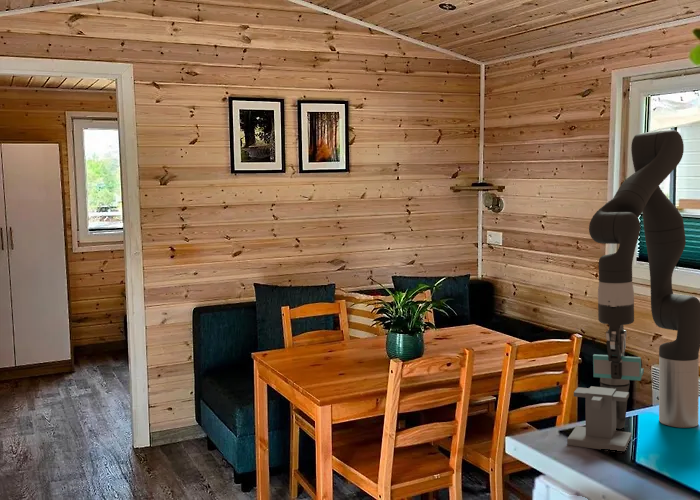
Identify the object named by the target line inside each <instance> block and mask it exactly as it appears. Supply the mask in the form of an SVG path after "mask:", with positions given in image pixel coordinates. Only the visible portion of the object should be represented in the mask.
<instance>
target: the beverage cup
mask: <svg viewBox="0 0 700 500" xmlns="http://www.w3.org/2000/svg"><path fill="white" fill-rule="evenodd" d="M599 383H600V386H599V387H603V388H613V389H616V391H620V392H629V389H630V385H631V383H630V380H625V379H612V378H599ZM627 405H628V400H627V401H626V402H623V401H616V428H623V427H624V428H625V424H626V418H627V417H626V416H627V408H628V406H627Z"/></svg>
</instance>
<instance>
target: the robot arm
mask: <svg viewBox="0 0 700 500" xmlns="http://www.w3.org/2000/svg"><path fill="white" fill-rule="evenodd" d="M630 149H631V159H632V165H633V170H634V173H633V174H631V175H630V176H629V177H627V178H625V180H624V181H623V182H622V183H621V184H620V186H619V187H618V189H617V191H616V192H615V194H614V196H613V197H612V199H610V200H609V201H607V202H606V203H605V204H604V205H603V206H601V207H600V208H599V209H598V210H597V211H596V212H595V213H594V215H593V216H592V217H591V219H590V222H589V225H588V233H589V236H590V238H591V239H592V241H594V242H596V243H598V244H602V245H603V244H606V245H607V244H608V245H610V244H611V245H612V244H613V245H614V244H617V245H618V249H617V250H616V252H614V253H609V254H605V255H602V256H600V258H598V287H597V309H598V311H597V317H598V322H599V323H600V324H603V325H608V329H607V331H605V339H606V342H605V345H606V349H607V350H606V352H607V355H608V360H609V361H610V362H611V378H612V379H621V378H622V361H623V360H622V356H625V355H626V352H625V351H626V348H627V345H626V343H627V341H626V339H627V335H628V334H627V330H626V329H624V326H626V325H627V326H628V325H631V324H633V323H634V322H635V294H634V285H633V284H634V283H633V262H634V255H635V251H636V247H637V244H638V241H639V237H640V233H641V222H640V219H639V217H640V216H641V215H642V221H643V231H644V238H645V245H646V251H647V258H648V268H649V279H650V281H649V283H650V284H649V285H650V311H651V316H652V319H653V322H654V324H655V325H656V326H657V327H658V328H660V329H664V330H665V329H666V330H670V331H676V338H675V339H674V340H673V341H670V342H669V341H668V342H664V343H663V342H662V343H661V344H660V345H659V348H658V359H659V360H658V368H659V369H658V371H659V373H658V377H659V378H658V379H659V380H658V394H659V395H658V400H659V401H658V420H659V422H660V423H661V424H662V425H665V426H669V427H675V428H687V429H688V428H695V427H697V426H699V388H700V387H699V386H700V385H699V384H700V383H699V379H700V378H699V356H700V355H699V353H700V299H698V298H697V297H696V296H692V295H686V294H676V293H674V291H673V284H672V283H673V282H672V281H673V273H674V270H675V268H676V267H677V264H678V263H679V261H680V259H681V256H682V254H683V252H684V250H685V247H686V231H685V223H684V218H683V216H682V214H681V212H680V211H679V210H678V208H677V207H676V206H675V204H674V203H673V202H672V201H671V200H670V199H669V197H667V195H666V194H665V193H664V192H663V190H662V189H661V186H660V185H661V184H662V183H663V182H664V180H666V179H667V178H668V177H669V175H670V174H671V173H672V172H673V171H674V170H675V168H677V166H678V165H679V164H680V162H681V161H682V159H683V155H684V149H685V146H684V140H683V137H682V135H681V133H680V132H679V131H677V130H675V129H663V130H662V129H661V130H653V131H648V132H641V133H637V134H635V135H634V136H633V138H632V140H631V148H630Z"/></svg>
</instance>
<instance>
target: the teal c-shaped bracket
mask: <svg viewBox="0 0 700 500" xmlns="http://www.w3.org/2000/svg"><path fill="white" fill-rule="evenodd" d="M622 360H623V361H622V378H621V379H625V380H629V381H642V378H643V375H644V367H643V368H642V356H641V357H639V356H629V355H627V356H626V355H624V356H622ZM592 365H593V366H592V367H593V369H592V370H593V378H599V379H600V378H611V362H610V361H609V360H608V354H595V353H594V354H593V355H592Z"/></svg>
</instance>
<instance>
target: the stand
mask: <svg viewBox="0 0 700 500" xmlns="http://www.w3.org/2000/svg"><path fill="white" fill-rule="evenodd" d="M573 397H576V398H584V400H585V405H584V406H585V426H581V425H576V426H575V428H573V430H572V432H571V433H570V434H569V436H568V437H567V440H566V442H567V443H566V445H567V446H572V447H573V446H574V447H580V448H587V449H588V448H589V449H595V450H601V449H610V450H617V451H625V450H626V451H627V449H628V447H629V445H628V443H629V441H630V439H631V437H632V436H633V435H632V434H633V433H632V432H629V431H622V430H616V401H623V402H626V401H627V402H628V399H629V397H630V392H629V391H628V392H620V391H616V389H613V388H603V387H601V386H592V385H591V386H590V387H588V388H587V387H579V386H578V387H577V388H576V389H575V390H574V391H573ZM631 440H632V439H631ZM630 442H631V441H630ZM629 444H630V443H629ZM627 446H628V447H627ZM626 448H627V449H626Z"/></svg>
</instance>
